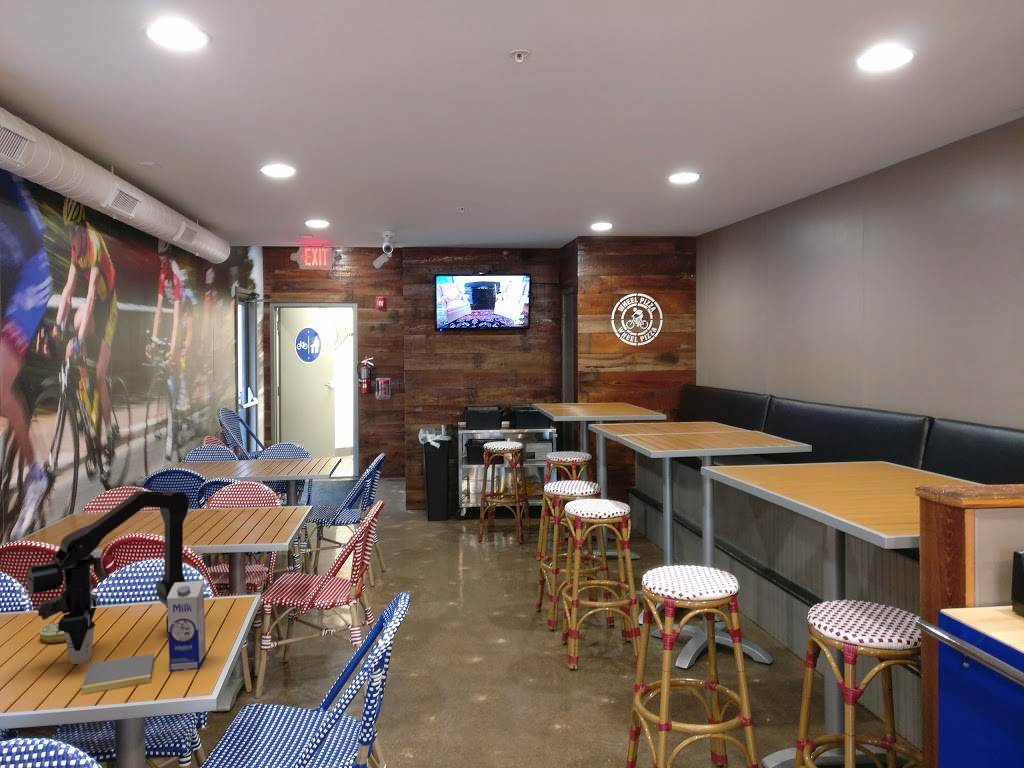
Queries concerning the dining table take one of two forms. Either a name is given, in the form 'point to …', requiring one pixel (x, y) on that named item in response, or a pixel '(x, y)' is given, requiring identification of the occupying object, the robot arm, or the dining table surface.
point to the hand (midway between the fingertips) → (80, 645)
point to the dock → (118, 673)
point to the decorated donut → (52, 633)
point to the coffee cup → (86, 648)
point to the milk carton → (186, 625)
